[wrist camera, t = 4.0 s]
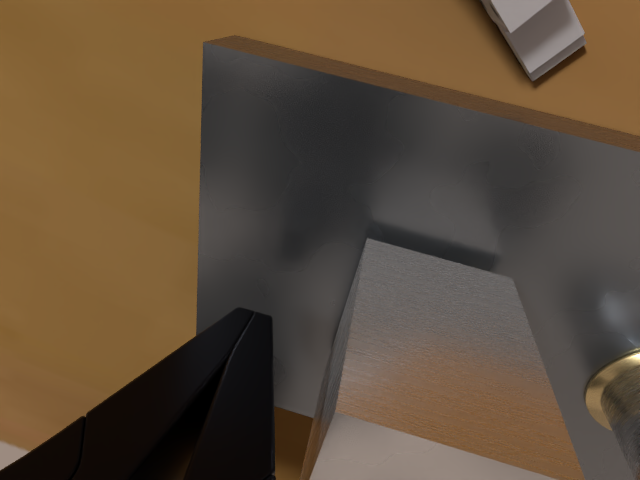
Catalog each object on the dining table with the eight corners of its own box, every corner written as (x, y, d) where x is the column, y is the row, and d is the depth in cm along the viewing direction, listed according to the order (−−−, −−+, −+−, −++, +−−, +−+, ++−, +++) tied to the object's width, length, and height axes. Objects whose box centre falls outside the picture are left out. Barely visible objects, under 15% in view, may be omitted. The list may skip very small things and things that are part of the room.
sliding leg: (434, 405, 10) (446, 616, 7) (324, 372, 10) (280, 561, 7) (512, 277, 8) (595, 508, 4) (366, 238, 8) (332, 426, 4)
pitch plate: (585, 458, 13) (668, 676, 9) (214, 347, 14) (129, 499, 10) (884, 197, 7) (1489, 453, 3) (234, 35, 8) (53, 73, 4)
